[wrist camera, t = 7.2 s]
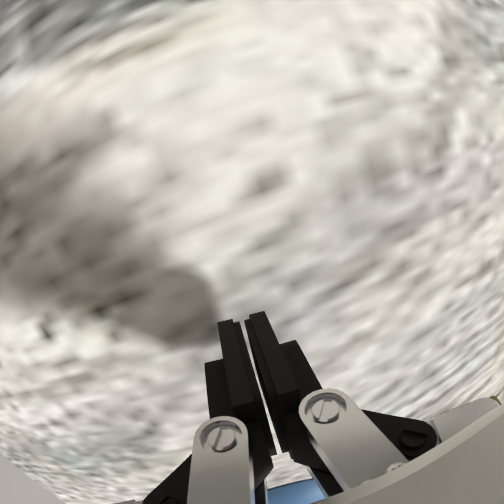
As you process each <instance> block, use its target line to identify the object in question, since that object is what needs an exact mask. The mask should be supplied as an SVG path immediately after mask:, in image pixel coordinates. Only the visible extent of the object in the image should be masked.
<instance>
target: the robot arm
mask: <svg viewBox="0 0 504 504" xmlns="http://www.w3.org/2000/svg"><path fill="white" fill-rule="evenodd" d="M249 318H250V319H247V320H244V322H245V326H246V330H247V334H248V338H249V343H250V347H251V351H252V355H253V359H254V363H255V367H256V371H257V375H258V378H259V382H260V385H261V388H262V392H263V395H264V398H265V401H266V404H267V407H268V411H269V414H270V417H271V420H272V423H273V426H274V429H275V432H276V435H277V438H278V441H279V444H280V447H281V450H282V453H284V452H288V451H289V454H290V457H291V459H293V460H294V462H297V463H300V464H302V465H305V466H306V467H307V470H308V472H309V473H310V475H311V476H312V478H313V479H314V481H315V483H316V484H317V486H318V487H319V489H320V490H321V492H322V493H323V495H324V496H325V499H322V500H319V501H316V502H313V503H310V504H504V404H502V405H500V404H499V403H498V402H497V401H495V400H493V399H491V398H481V399H478V400H476V401H473V402H471V403H468V404H466V405H464V406H461V407H458V408H456V409H453V410H451V411H448V412H445V413H442V414H439V415H437V416H434V417H432V418H431V420H430V421H427V422H424V421H420V420H416V419H409V418H403V417H397V416H392V415H387V414H381V413H376V412H371V411H367V410H362V409H360V408H359V407H358V406H357V405H356V404H355V403H354V402H353V400H352V399H351V398H350V397H349V396H348V395H346V394H345V393H344V392H342V391H339V390H337V389H329V388H328V389H322V387H321V385H320V383H319V381H318V379H317V378H316V376H315V374H314V372H313V370H312V368H311V367H310V365H309V363H308V361H307V359H306V357H305V356H304V354H303V352H302V350H301V348H300V346H299V345H298V343H297V341H296V340H293V341H290V342H286V343H283V344H279V343H278V340H277V338H276V336H275V334H274V331H273V329H272V327H271V325H270V323H269V320H268V318H267V316H266V314H265V312H264V311H262V312H258V313H254V314H250V315H249ZM217 324H218V330H219V336H220V342H221V348H222V354H223V359H220V360H216V361H211V362H207V363H205V376H206V387H207V397H208V406H209V415H210V420H208V421H206V422H204V423H203V424H202V425H201V426H200V427H199V428H198V429H197V431H196V433H195V436H194V442H193V450H192V454H191V455H190V456H189V457H188V458H187V459H186V460H185V461H184V462H183V463H182V464H181V465H180V466H179V467H178V468H177V469H176V470H175V471H174V472H173V473H171V474H170V475H169V476H168V477H167V478H166V479H165V480H164V481H163V482H162V483H161V484H160V485H159V486H157V487H156V488H155V489H154V490H153V491H152V492H151V493H150V494H149V495H148V496H147V497H146V498H145V499H144V500H143V501H138V502H137V501H136V500H130V501H125V502H120V503H114V504H268V492H267V481H266V477H267V475H268V474H269V473H270V471H271V470H272V469H273V462H272V459H271V456H273V455H277V452H276V448H275V445H274V441H273V437H272V434H271V430H270V426H269V423H268V419H267V415H266V411H265V408H264V404H263V400H262V397H261V393H260V390H259V387H258V383H257V380H256V377H255V373H254V370H253V367H252V363H251V360H250V357H249V353H248V350H247V346H246V343H245V339H244V336H243V332H242V329H241V325H240V322H235V323H233V319H230V320H226V321H222V322H218V323H217Z"/></svg>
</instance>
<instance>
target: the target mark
mask: <svg viewBox="0 0 504 504" xmlns="http://www.w3.org/2000/svg"><path fill="white" fill-rule="evenodd" d="M267 492H268V504H310V503H313V502H316V501H319V500H322V499H325V496H324V495H323V493H322V492H321V490H320V489H319V487H318V486H317V484H316V483H315V481H314V479H310V480H305V481H301V482H296V483H292V484H288V485H284V486H281V487H277V488H274V489H271V490H268V491H267Z"/></svg>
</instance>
